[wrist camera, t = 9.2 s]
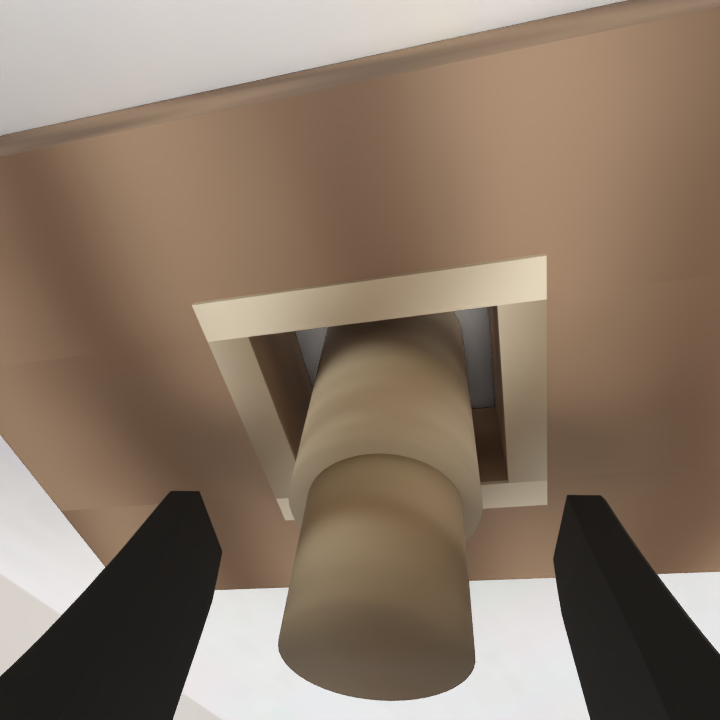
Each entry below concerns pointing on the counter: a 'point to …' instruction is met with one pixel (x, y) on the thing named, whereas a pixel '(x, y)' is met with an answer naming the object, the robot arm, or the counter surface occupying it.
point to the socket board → (383, 282)
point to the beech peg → (385, 514)
